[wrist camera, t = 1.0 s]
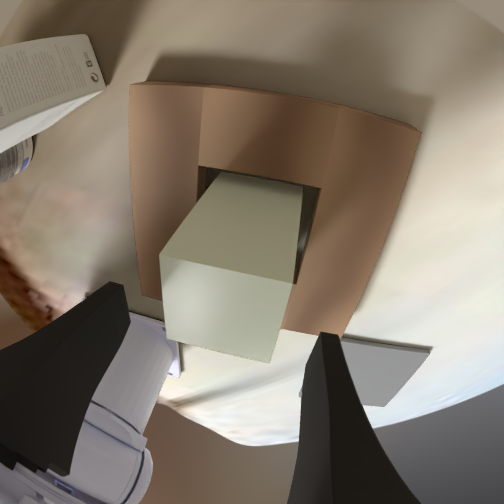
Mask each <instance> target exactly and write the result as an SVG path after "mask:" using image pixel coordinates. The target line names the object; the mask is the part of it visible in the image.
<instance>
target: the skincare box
mask: <svg viewBox="0 0 504 504" xmlns="http://www.w3.org/2000/svg"><path fill="white" fill-rule="evenodd" d="M105 88H106V86H105V83H104V80H103V76H102V73H101V70H100V67H99V65H98V62H97V59H96V56H95V54H94V51H93V48H92V45H91V43H90V40H89V37H88V36H87V35H85V34H78V35H67V36H59V37H51V38H44V39H38V40H32V41H26V42H21V43H16V44H11V45H6V46H2V47H0V153H2V152H3V151H5V150H7V149H9V148H10V147H12V146H14V145H16V144H18V143H20V142H21V141H23V140H25V139H27V138H29V137H31V136H33V135H35V134H37V133H39V132H41V131H43V130H45V129H47V128H49V127H50V126H52V125H53V124H54V123H56V122H57V121H58V120H60V119H61V118H63V117H64V116H65V115H67V114H68V113H70V112H71V111H73V110H74V109H76V108H77V107H79V106H80V105H82V104H83V103H85V102H86V101H88V100H89V99H91V98H92V97H94V96H96V95H97V94H99V93H101V92H102V91H103V90H105Z"/></svg>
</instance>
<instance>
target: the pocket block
mask: <svg viewBox="0 0 504 504" xmlns="http://www.w3.org/2000/svg"><path fill="white" fill-rule="evenodd" d="M420 135H421V132H420V131H418V130H417V129H416V128H414V127H413V126H411V125H408V124H405V123H402V122H399V121H396V120H393V119H389V118H386V117H383V116H379V115H376V114H372V113H369V112H365V111H361V110H358V109H354V108H350V107H346V106H342V105H337V104H333V103H329V102H324V101H320V100H315V99H310V98H305V97H300V96H294V95H289V94H283V93H277V92H271V91H264V90H257V89H250V88H242V87H233V86H224V85H213V84H200V83H184V82H154V81H144V82H140V83H135V84H130V92H129V156H130V181H131V198H132V212H133V224H134V235H135V244H136V254H137V262H138V270H139V278H140V285H141V292H142V295H143V296H147V297H150V298H154V299H158V300H162V301H163V297H162V286H161V274H160V260H159V254H160V253H161V251H162V250H163V248H164V247H165V245H166V244H167V243H168V241H169V240H170V239H171V237H172V236H173V234H174V233H175V232H176V230H177V229H178V228H179V226H180V225H181V223H182V222H183V221H184V219H185V218H186V217H187V215H188V214H189V213H190V211H191V210H192V209H193V207H194V206H195V205H196V203H197V202H198V201H199V199H200V198H201V197H202V196H203V194H204V193H205V192H206V177H207V167H212V168H218V169H224V170H230V171H236V172H242V173H247V174H253V175H259V176H264V177H269V178H274V179H280V180H285V181H290V182H294V183H299V184H304V185H309V186H313V187H318V192H317V197H316V201H315V205H314V209H313V213H312V217H311V221H310V225H309V229H308V233H307V237H306V241H305V245H304V248H303V252H302V256H301V260H300V264H299V267H298V268H295V269H294V277H293V284H292V288H291V292H290V295H289V299H288V303H287V306H286V310H285V313H284V317H283V320H282V324H281V327H280V328H281V329H286V330H291V331H296V332H301V333H306V334H312V335H317V336H319V334H320V332H327V333H332V334H338V336H339V337H340V339H341V337H342V335H343V333H344V331H345V329H346V327H347V325H348V323H349V321H350V319H351V317H352V315H353V313H354V311H355V309H356V306H357V304H358V302H359V300H360V298H361V296H362V293H363V291H364V289H365V287H366V284H367V282H368V280H369V278H370V275H371V273H372V271H373V268H374V266H375V264H376V261H377V259H378V256H379V254H380V251H381V249H382V247H383V244H384V242H385V239H386V236H387V234H388V231H389V229H390V226H391V223H392V221H393V218H394V215H395V213H396V210H397V207H398V204H399V201H400V199H401V196H402V193H403V190H404V187H405V184H406V181H407V178H408V175H409V172H410V168H411V165H412V162H413V159H414V156H415V152H416V149H417V145H418V142H419V138H420Z"/></svg>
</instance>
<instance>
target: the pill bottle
mask: <svg viewBox="0 0 504 504" xmlns="http://www.w3.org/2000/svg"><path fill="white" fill-rule="evenodd" d="M32 153H33V143H32V138H31V137H29V138H27V139H25V140H23V141H21V142H20V143H18V144H16V145H14V146H12V147H10V148H9V149H7V150H5V151H3V152H2V153H0V184H2V183H3V182H5V181H6V180H8V179H9V178H11V177H13V176H14V175H16V174H17V173H19V172H21V171H22V170H24V169H25V168H26V167H27V166H28V165H29V163H30V161H31V158H32Z"/></svg>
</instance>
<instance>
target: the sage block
mask: <svg viewBox="0 0 504 504" xmlns="http://www.w3.org/2000/svg"><path fill="white" fill-rule="evenodd" d="M302 196H303V187H302V186H297V185H292V184H287V183H282V182H277V181H272V180H267V179H261V178H256V177H250V176H245V175H239V174H233V173H227V172H220V174H219V175H218V176H217V177H216V179H215V180H214V181H213V183H212V184H211V185H210V186H209V188H208V189H207V190H206V192H205V193H204V194H203V196H202V197H201V198H200V199H199V201H198V202H197V203H196V205H195V206H194V207H193V209H192V210H191V211H190V213H189V214H188V215H187V217H186V218H185V219H184V221H183V222H182V223H181V225H180V226H179V228H178V229H177V230H176V232H175V233H174V234H173V236H172V237H171V239H170V240H169V241H168V243H167V244H166V245H165V247H164V248H163V250H162V251H161V253H160V254H159V260H160V274H161V286H162V297H163V308H164V317H165V327H166V335H167V338H168V339H171V340H175V341H178V342H182V343H186V344H189V345H193V346H197V347H201V348H204V349H208V350H212V351H216V352H221V353H225V354H229V355H233V356H238V357H242V358H246V359H251V360H256V361H260V362H265V363H270V361H271V358H272V354H273V351H274V348H275V344H276V341H277V338H278V334H279V331H280V327H281V324H282V320H283V317H284V313H285V310H286V306H287V303H288V299H289V295H290V292H291V288H292V284H293V277H294V269H295V261H296V252H297V244H298V235H299V225H300V216H301V206H302Z"/></svg>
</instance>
